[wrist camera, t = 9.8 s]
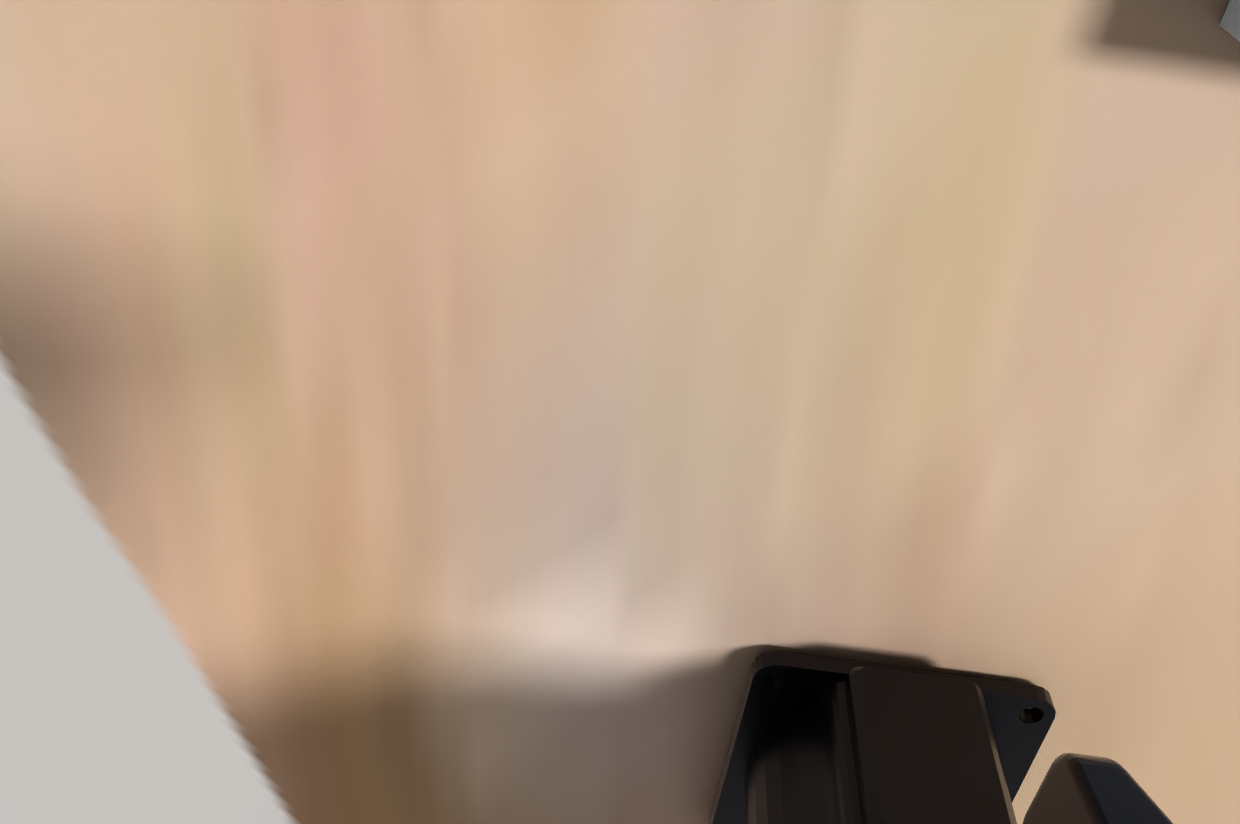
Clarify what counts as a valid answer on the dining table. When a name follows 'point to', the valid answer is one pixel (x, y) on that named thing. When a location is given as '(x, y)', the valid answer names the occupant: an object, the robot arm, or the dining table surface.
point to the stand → (1232, 19)
